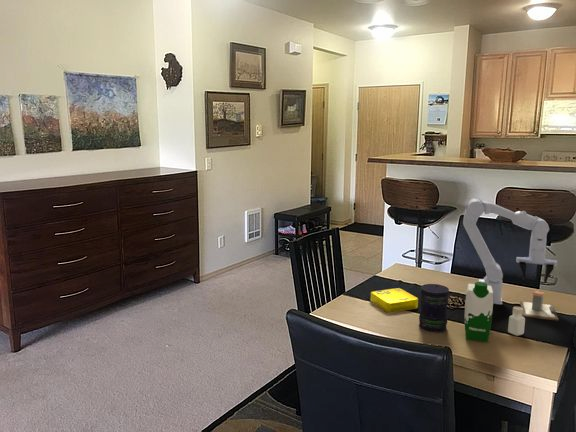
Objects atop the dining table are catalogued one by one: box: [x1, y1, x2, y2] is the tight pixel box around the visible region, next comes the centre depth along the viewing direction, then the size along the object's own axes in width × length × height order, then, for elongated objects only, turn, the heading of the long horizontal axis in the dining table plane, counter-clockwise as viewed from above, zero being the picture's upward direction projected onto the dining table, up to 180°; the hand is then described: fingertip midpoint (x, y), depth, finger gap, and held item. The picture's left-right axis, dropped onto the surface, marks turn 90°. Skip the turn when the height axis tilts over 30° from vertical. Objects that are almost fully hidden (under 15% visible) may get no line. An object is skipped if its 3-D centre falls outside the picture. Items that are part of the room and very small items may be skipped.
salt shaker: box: [507, 306, 526, 337], centre depth 168 cm, size 4×4×10 cm
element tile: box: [370, 287, 419, 313], centre depth 196 cm, size 15×15×5 cm
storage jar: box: [418, 283, 450, 334], centre depth 173 cm, size 10×10×15 cm
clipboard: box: [519, 300, 560, 322], centre depth 189 cm, size 12×16×2 cm
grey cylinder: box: [532, 290, 545, 311], centre depth 188 cm, size 3×3×7 cm
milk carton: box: [463, 281, 494, 343], centre depth 164 cm, size 9×9×20 cm
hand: (534, 281), depth 194 cm, fingers open, 7 cm apart
